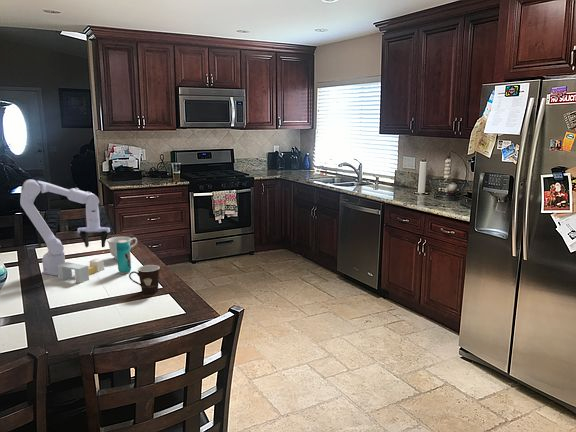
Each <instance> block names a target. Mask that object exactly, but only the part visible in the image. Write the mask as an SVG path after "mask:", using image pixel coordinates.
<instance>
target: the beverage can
mask: <svg viewBox="0 0 576 432" xmlns="http://www.w3.org/2000/svg"><path fill="white" fill-rule="evenodd" d="M116 246H117V269H118V272H119V274H121V275H122V274H123V275H125V274H130V273H131V270H132V261H131V260H132V258H131V249H130V246H131V243H130V244H129V240H119V241H117V244H116Z"/></svg>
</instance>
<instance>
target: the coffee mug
mask: <svg viewBox="0 0 576 432" xmlns="http://www.w3.org/2000/svg"><path fill="white" fill-rule="evenodd" d="M128 274H129V275H128V277H129V280H130V281H132V282H133V283H135V284H137V285H139V287H140V288H141V293H142V294H144V295H153V294H156V293H158V291H159V285H160V284H159V281H160V266H159V265H156V264H147V265H143V266H140V267H139V266H138V268H137V271H130V272H129V273H128ZM133 274H137V276H138V277H139V282H140V283H139V282H138V281H136V280H134V278H132V276H131V275H133Z"/></svg>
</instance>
